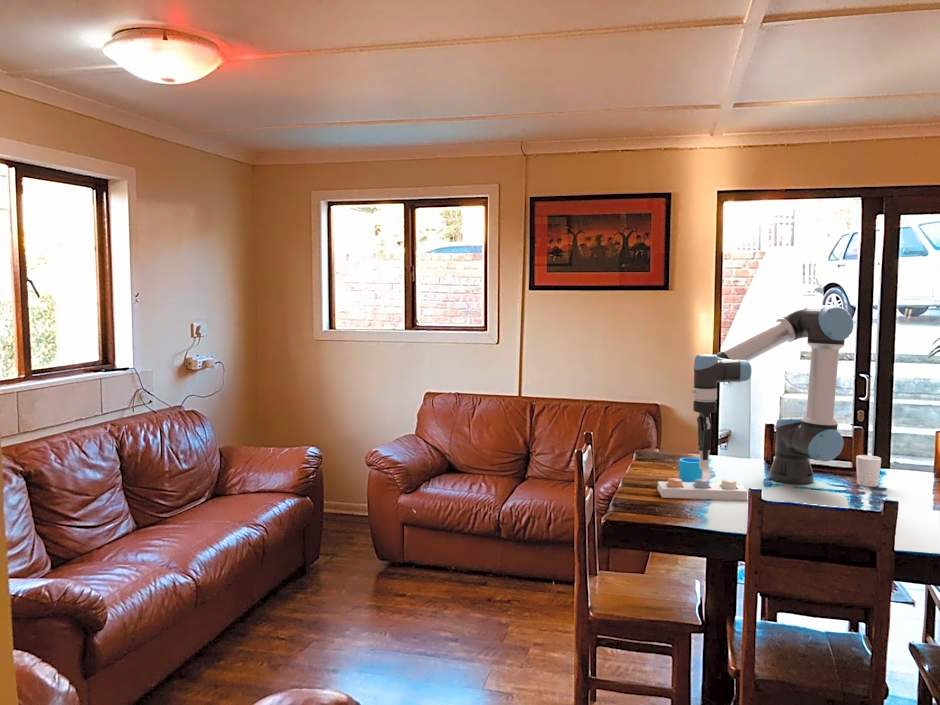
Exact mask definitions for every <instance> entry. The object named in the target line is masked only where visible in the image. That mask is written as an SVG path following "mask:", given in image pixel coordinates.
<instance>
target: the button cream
mask: <svg viewBox="0 0 940 705" xmlns="http://www.w3.org/2000/svg"><path fill="white" fill-rule="evenodd" d="M721 483H722V484H721V488H722V489H736V484H738V482H737V480H734V479H722V480H721Z"/></svg>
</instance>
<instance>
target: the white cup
mask: <svg viewBox="0 0 940 705" xmlns="http://www.w3.org/2000/svg"><path fill="white" fill-rule="evenodd" d="M855 461H856V464H855V465H856V484H857V485H859V486H862V487H872V488H873V487H874V488H876V487H878V486H879V481H880V480H879V479H880V474H881V473H880V472H881V467H882V466H881V464H882V457H880V456H876V455H870V454H869V455H868V454H859V455H856V459H855Z"/></svg>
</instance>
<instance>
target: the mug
mask: <svg viewBox="0 0 940 705" xmlns="http://www.w3.org/2000/svg"><path fill="white" fill-rule="evenodd" d="M678 461H679V462H678V478H679V479H682V482H695V479H703V469H700V468H699V465H700V458H696V457H695V458H694V457H681V458H679V460H678Z"/></svg>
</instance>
